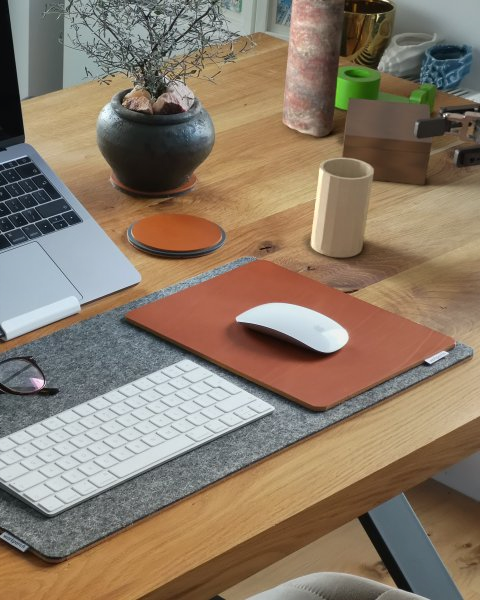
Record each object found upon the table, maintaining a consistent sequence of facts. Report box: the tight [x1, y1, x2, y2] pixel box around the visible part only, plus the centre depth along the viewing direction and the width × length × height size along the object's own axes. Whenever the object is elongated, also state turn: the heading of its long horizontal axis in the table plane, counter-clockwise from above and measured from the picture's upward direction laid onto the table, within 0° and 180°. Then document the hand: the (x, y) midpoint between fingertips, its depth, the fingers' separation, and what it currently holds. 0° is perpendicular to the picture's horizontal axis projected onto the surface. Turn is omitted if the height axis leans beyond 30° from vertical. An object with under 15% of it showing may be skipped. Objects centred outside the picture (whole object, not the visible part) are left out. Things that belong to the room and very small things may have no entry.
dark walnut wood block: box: [341, 98, 433, 186], centre depth 152 cm, size 11×14×6 cm
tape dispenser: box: [335, 65, 438, 115], centre depth 169 cm, size 15×7×5 cm, turn 54°
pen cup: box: [310, 157, 374, 259], centre depth 129 cm, size 6×6×10 cm
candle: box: [282, 0, 346, 138], centre depth 158 cm, size 8×7×20 cm
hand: (435, 143), depth 129 cm, fingers open, 8 cm apart
